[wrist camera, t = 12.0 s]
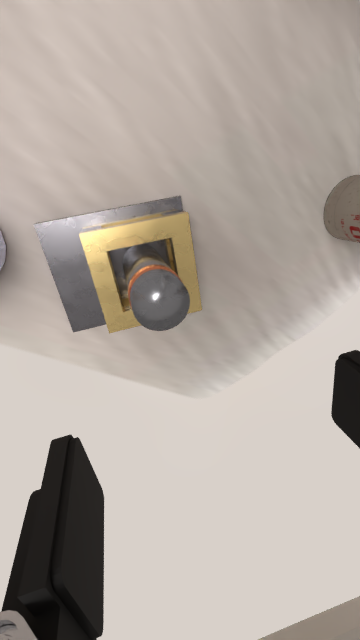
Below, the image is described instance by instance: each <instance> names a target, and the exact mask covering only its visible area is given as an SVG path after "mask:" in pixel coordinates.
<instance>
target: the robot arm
mask: <svg viewBox="0 0 360 640" xmlns="http://www.w3.org/2000/svg"><path fill="white" fill-rule="evenodd" d="M332 418H333V420H334V422H335V423H336V425H338V427H339V428H341V430H342V431H343V432H344V433H345V434H346V435H347V436H348V437H349V438H350V439H351V440H352V441H353V442H354V443H355V444H356V445H357V446H358V447H359V448H360V351H358V350H354V351H351V352H347V353H344V354H341V355H340V356H339V358H338V360H337V361H336V363H335V376H334V388H333V401H332ZM103 575H104V495H103V490H102V488H101V485H100V484H99V481H98V479H97V477H96V474H95V472H94V470H93V468H92V465H91V463H90V461H89V459H88V457H87V454H86V452H85V450H84V448H83V446H82V443H81V441H80V439H79V438H78V437H77V438H73V437H72V435H68V436H64V437H61V438H57V439H54V440H52V441H51V444H50V449H49V454H48V458H47V463H46V467H45V472H44V477H43V481H42V486H41V489H40V490H36V491H34V492H33V493H32V494H31V496H30V499H29V502H28V506H27V510H26V514H25V518H24V522H23V526H22V530H21V534H20V538H19V543H18V546H17V550H16V555H15V559H14V563H13V567H12V571H11V575H10V579H9V583H8V587H7V591H6V595H5V599H4V603H3V607H2V611H1V612H0V640H96V638H97V637H100V636H101V635H102V632H103V589H104V588H103V587H104V585H103V582H104V581H103V580H104V576H103ZM259 640H360V596H359V597H357V598H354V599H352V600H350V601H347V602H345V603H343V604H340V605H338V606H336V607H333V608H331V609H329V610H326V611H324V612H321V613H319V614H317V615H314V616H312V617H310V618H307V619H305V620H303V621H300V622H298V623H295V624H293V625H291V626H289V627H286V628H284V629H281V630H279V631H277V632H275V633H272V634H270V635H268V636H265V637H263V638H261V639H259Z"/></svg>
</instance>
